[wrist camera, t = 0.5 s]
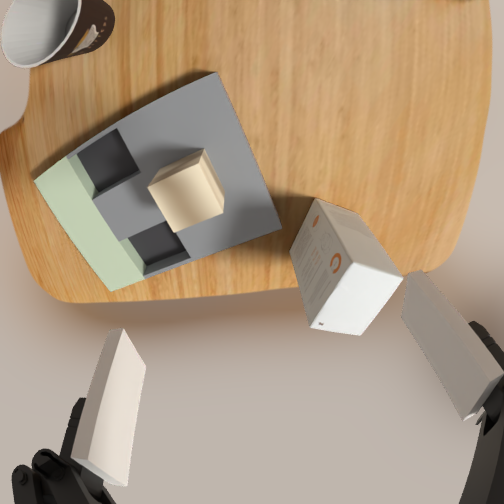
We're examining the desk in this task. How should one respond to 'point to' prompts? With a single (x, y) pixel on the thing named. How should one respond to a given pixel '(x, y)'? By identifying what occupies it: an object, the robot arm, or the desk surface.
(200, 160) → the maple block
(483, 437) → the robot arm
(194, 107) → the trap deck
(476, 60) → the desk surface
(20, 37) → the coffee mug
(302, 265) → the small box
